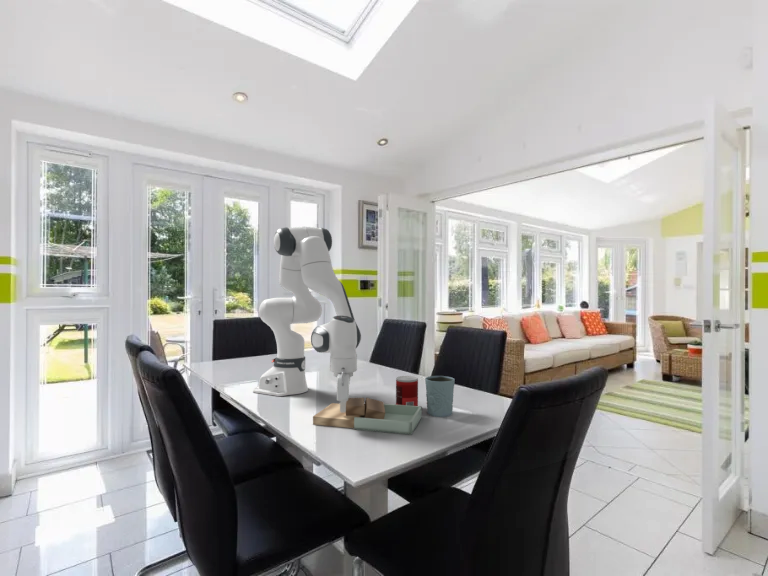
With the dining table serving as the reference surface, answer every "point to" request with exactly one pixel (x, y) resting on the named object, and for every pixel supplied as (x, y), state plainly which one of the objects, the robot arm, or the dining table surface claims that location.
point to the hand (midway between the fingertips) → (343, 407)
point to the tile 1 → (355, 407)
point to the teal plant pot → (439, 395)
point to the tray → (392, 420)
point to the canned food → (407, 390)
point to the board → (334, 417)
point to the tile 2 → (374, 409)
